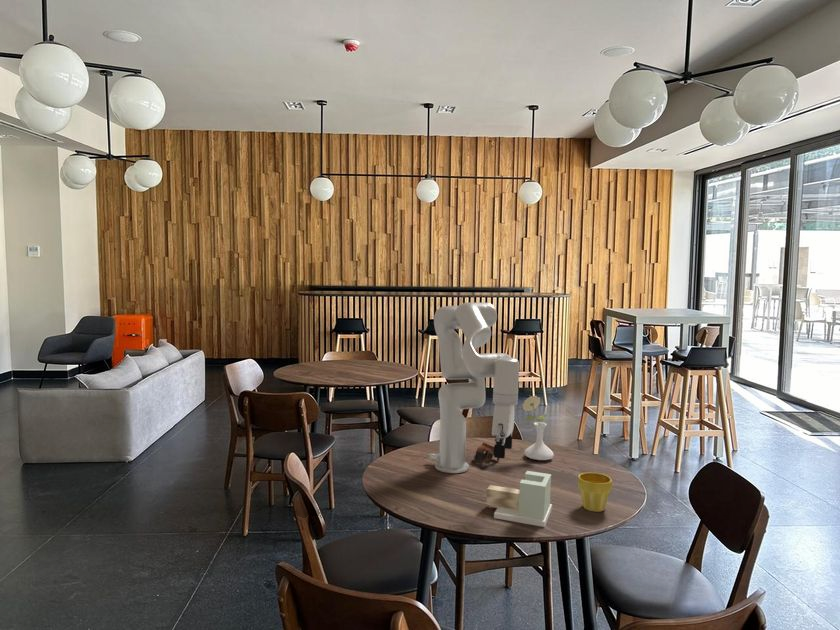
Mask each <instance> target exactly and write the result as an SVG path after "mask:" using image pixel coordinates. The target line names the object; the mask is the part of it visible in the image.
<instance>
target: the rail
mask: <svg viewBox="0 0 840 630" xmlns="http://www.w3.org/2000/svg"><path fill="white" fill-rule="evenodd" d="M519 490H520V488H519V489H517V488H514V487H513V488H511V487H506V486H498V485H494V484H493V485H492V484H489V486H488V487H487V488H486V505H488V506H492V507H493V506H494V507H497V508H498V507H504V508H510V509H516V510H519Z"/></svg>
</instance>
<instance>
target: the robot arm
mask: <svg viewBox="0 0 840 630" xmlns="http://www.w3.org/2000/svg"><path fill="white" fill-rule="evenodd" d="M433 316H434V317H433V318H434V319H433V325H434V330H435V334H436V336H437V340H438V344H439V358H440V359H439V360H440V371H441V376H442V377H443V378H444V379H446V380H468V382H454V383H453V382H452V383H446V384H444V385H442V386H441V387H440V388H439V389H438V403H439V412H440V413H439V415H440V416H439V417H440V419H439V420H440V424H439V426H440V427H439V453H429V454H428V458H429V460H430V461H434V462H435V463H434V467H435V469H436V470H437V471H439V472H442V473H445V474H446V473H447V474H461V473H465V472H467V471H469V469H470V464H469V463H468V462H466V445H467V444H466V443H467V441H466V440H467V438H466V437H467V436H466V435H467V420H466V418H465V416H464V415H463V414H462V412H461V411H462V410H469V409H479V408H481V407H483V406H484V405H485V403H486V398H487V397H486V393H487V392H486V381H485V378H493V389H492V390H493V391H492V392H493V393H492V403H493V404H494V407H493V415H492V428H491V436H492V437H495V438H494V444H493V447H494V455H493V457H494V458H496V459H497V458H499V459H503V460H504V459H505V458H506V450H512V448H513V432H514V427H515V408H516V407H515V406H517V405H518V404H519V380H520V379H519V378H520V362H519V360H518V358H514V357H511V356H510V355H509V354H507V353H505V352H504V353H502V352H499V353H497V352H496V353H492V352H491V353H489V352H488V353H478V352H476V350H477V349H479V348H481V347H483V346H484V345H485V344H487V343H488V342H489V340H491V336H492V329H491V328H490V327H493V326H494V325H495V324H496V323H497V320H498V313H497V309H496V308H495V306H494V304H492V303H489V302H472V301H471V302H463V303H461V304H459V305H447V306H441V307H439V308H438V309H436V311H435V313H434V315H433ZM455 330H461V331H462V333H463V334H464V336H465V341H464V343H463V340H462V338H461V336H460V335H459V334H458V333H457V332H456V331H455Z"/></svg>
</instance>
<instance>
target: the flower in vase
mask: <svg viewBox="0 0 840 630" xmlns="http://www.w3.org/2000/svg"><path fill="white" fill-rule="evenodd" d="M540 402H541V397H538V396H537V395H533V396H532V395H530V396H529V397H528V398H526V400H523V403H522V405H521V407H522V410H524V411H526V412H530V411H533V414H534V416H533V415H528V416H527V417H526V418H525V419H524V420H525V421H529V422H531V421H533V420H534V419H535V420H536V421H537V422H536V421H534V422H533V425H534V426H535V429H536V440H535V442H534V443H533V444H532V445H530V446H528V447H527V448H525V450H524V451H523V452H524V455H525V456H526V457H527V458H529V459H531V460H537V461H549V460H551V459H553V458H554V456H555V454H554V452H553V451H552V450H551V449H550V448H549V447H548V446H547V445H546V444H545V443H544V441H543V437H544V430H545V428H546V426H547V423H546V422H541V421H544V420H545V419H546V417H547V414H542V415H540V416H538V417H537V416H536V411H535V410H536V409H537V407H539V405H541V403H540Z"/></svg>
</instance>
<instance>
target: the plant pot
mask: <svg viewBox="0 0 840 630" xmlns="http://www.w3.org/2000/svg"><path fill="white" fill-rule="evenodd" d="M612 479H613V478H611V477H610V476H608V475H606V474H604V473H600V472H591V471H589V472H582V473H580V474H578V476H577V487H578V488H579V490H580V495H581V501H582V506H583V509H585V510H587V511H589V512H597V513H599V512H604V511H605V510H606V506H607V502H608V500H609V494H610V492H611V491H612V490H613V489H612V488H613V480H612Z"/></svg>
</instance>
